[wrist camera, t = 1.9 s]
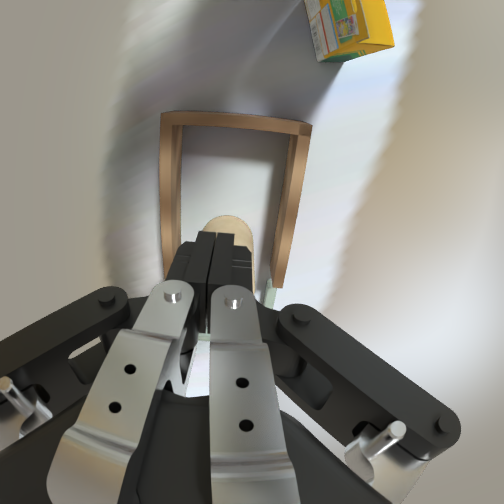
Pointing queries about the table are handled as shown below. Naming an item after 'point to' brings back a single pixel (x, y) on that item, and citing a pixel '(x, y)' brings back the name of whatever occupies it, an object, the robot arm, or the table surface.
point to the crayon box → (348, 28)
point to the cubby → (176, 119)
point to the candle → (236, 227)
